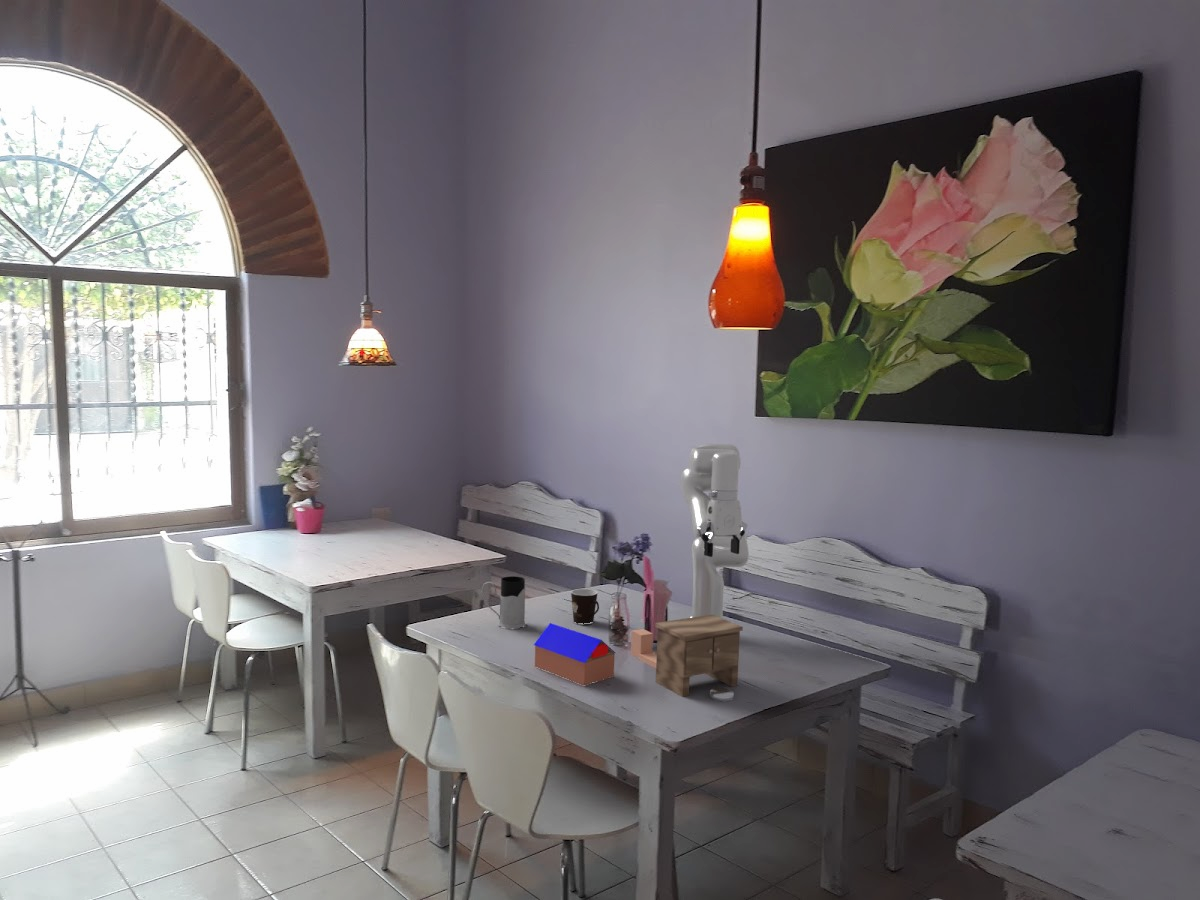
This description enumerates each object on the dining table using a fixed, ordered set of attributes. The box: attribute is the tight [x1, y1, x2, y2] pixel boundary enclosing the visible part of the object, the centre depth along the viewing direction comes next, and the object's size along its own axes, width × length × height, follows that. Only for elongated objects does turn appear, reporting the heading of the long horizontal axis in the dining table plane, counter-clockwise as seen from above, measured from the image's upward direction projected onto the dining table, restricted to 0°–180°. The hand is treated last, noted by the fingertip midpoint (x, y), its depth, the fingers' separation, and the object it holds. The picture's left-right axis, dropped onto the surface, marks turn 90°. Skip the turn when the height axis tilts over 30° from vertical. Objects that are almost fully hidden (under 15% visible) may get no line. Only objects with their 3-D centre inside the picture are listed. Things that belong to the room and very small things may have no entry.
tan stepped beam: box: [630, 628, 657, 669], centre depth 255 cm, size 22×5×7 cm, turn 31°
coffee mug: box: [570, 588, 600, 624], centre depth 293 cm, size 12×9×10 cm
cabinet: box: [654, 615, 744, 698], centre depth 240 cm, size 14×19×16 cm
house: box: [533, 622, 616, 686], centre depth 247 cm, size 12×20×12 cm, turn 46°
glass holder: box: [481, 575, 526, 629], centre depth 288 cm, size 9×14×15 cm, turn 88°
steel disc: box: [709, 687, 735, 702], centre depth 232 cm, size 6×6×2 cm
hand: (721, 554), depth 261 cm, fingers open, 9 cm apart
